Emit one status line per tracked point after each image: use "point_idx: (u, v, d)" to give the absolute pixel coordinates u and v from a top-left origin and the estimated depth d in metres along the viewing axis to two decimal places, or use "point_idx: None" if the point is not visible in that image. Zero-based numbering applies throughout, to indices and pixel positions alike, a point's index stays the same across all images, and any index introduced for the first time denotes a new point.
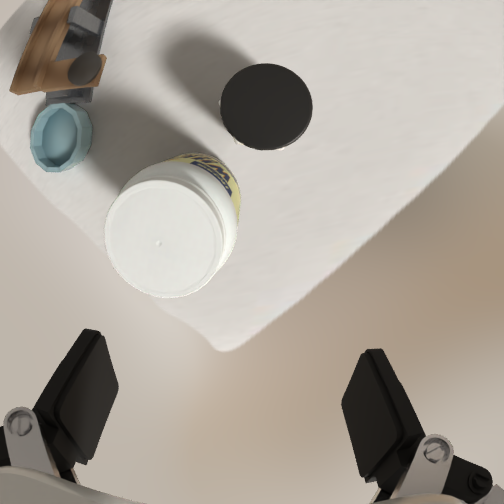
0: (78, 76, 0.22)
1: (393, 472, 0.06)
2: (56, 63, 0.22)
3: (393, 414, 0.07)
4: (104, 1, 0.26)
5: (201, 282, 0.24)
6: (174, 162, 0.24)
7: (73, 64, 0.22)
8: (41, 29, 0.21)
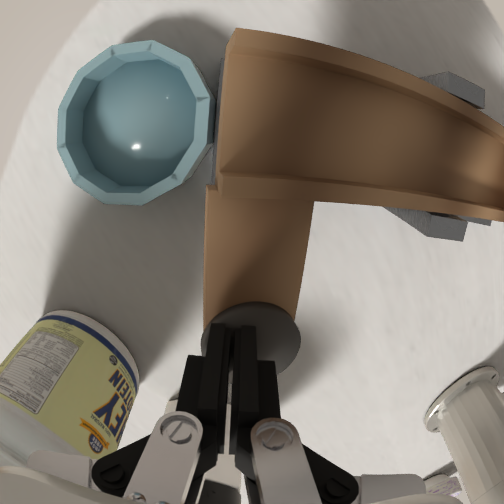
0: None
1: (236, 450, 0.07)
2: (302, 229, 0.10)
3: (236, 387, 0.08)
4: None
5: None
6: None
7: (272, 319, 0.11)
8: (445, 112, 0.10)
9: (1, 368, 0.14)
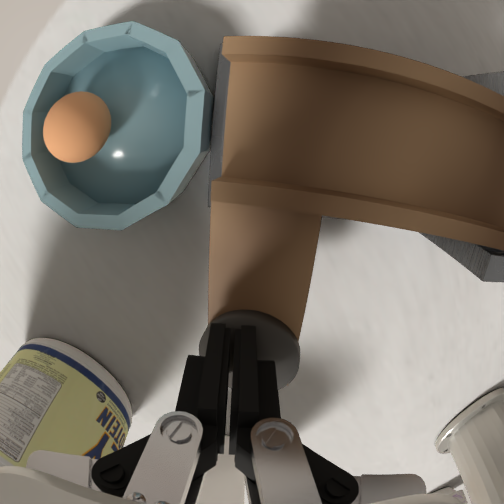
0: None
1: (236, 450, 0.07)
2: (307, 244, 0.10)
3: (235, 387, 0.08)
4: None
5: None
6: None
7: (267, 332, 0.10)
8: (498, 119, 0.06)
9: None
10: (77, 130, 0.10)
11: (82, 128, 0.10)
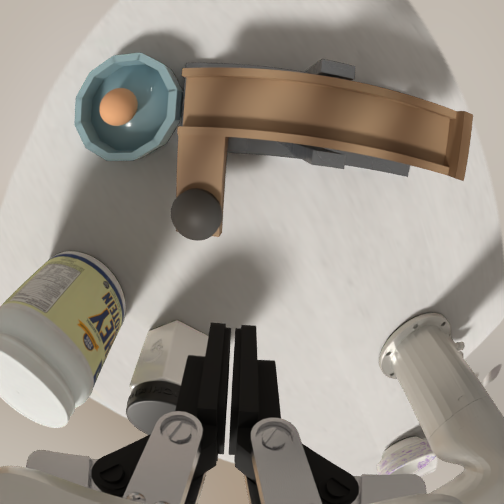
0: (182, 211, 0.22)
1: (236, 450, 0.07)
2: (219, 152, 0.21)
3: (236, 387, 0.08)
4: (353, 155, 0.26)
5: (13, 407, 0.18)
6: (87, 374, 0.21)
7: (203, 196, 0.21)
8: (315, 85, 0.18)
9: (18, 289, 0.21)
10: (111, 108, 0.20)
11: (114, 107, 0.20)
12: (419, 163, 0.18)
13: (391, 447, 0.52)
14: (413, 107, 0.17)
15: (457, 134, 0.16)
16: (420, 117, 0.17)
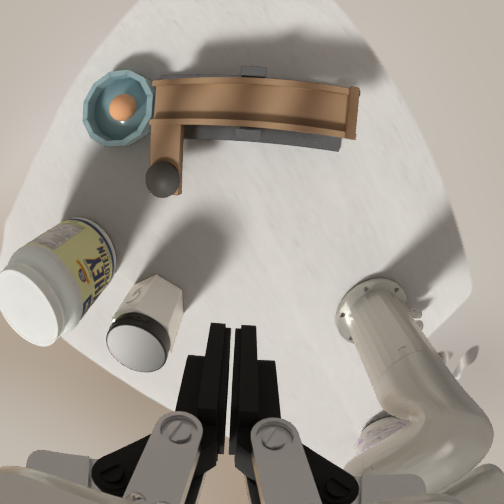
0: (152, 177, 0.30)
1: (236, 450, 0.07)
2: (177, 136, 0.29)
3: (236, 387, 0.08)
4: (288, 136, 0.34)
5: (17, 331, 0.26)
6: (78, 298, 0.29)
7: (166, 166, 0.30)
8: (239, 84, 0.26)
9: (34, 239, 0.30)
10: (128, 108, 0.29)
11: (129, 107, 0.30)
12: (317, 130, 0.26)
13: (368, 426, 0.58)
14: (313, 90, 0.25)
15: (348, 105, 0.24)
16: (320, 97, 0.25)
